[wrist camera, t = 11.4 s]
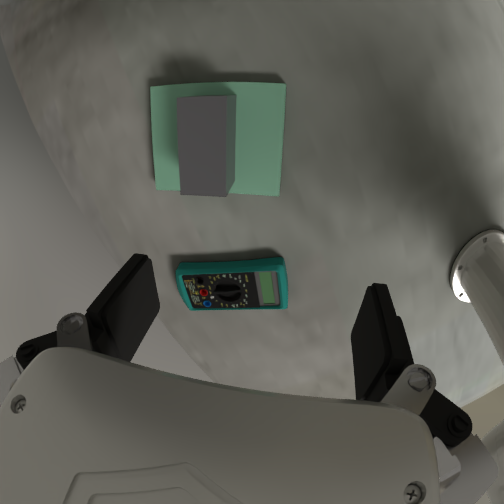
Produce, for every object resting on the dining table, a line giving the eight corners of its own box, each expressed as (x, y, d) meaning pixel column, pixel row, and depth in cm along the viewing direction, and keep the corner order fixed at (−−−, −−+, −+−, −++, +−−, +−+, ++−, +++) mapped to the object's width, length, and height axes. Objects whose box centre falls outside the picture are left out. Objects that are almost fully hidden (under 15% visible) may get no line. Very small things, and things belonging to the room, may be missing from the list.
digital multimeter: (176, 260, 39) (169, 273, 37) (285, 253, 36) (284, 267, 34) (190, 300, 43) (184, 313, 40) (289, 297, 40) (289, 312, 38)
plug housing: (236, 94, 25) (226, 95, 21) (235, 180, 30) (226, 196, 26) (193, 95, 26) (176, 97, 22) (195, 179, 30) (180, 194, 26)
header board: (286, 84, 25) (286, 82, 22) (279, 191, 32) (278, 207, 28) (156, 86, 26) (137, 87, 23) (161, 185, 33) (145, 199, 29)
